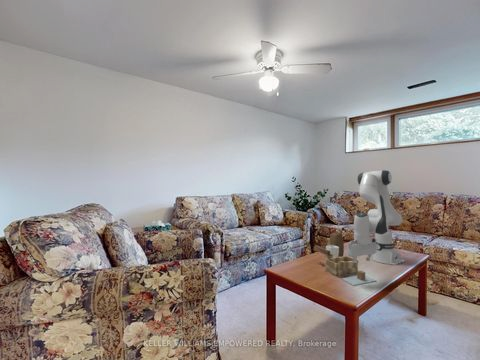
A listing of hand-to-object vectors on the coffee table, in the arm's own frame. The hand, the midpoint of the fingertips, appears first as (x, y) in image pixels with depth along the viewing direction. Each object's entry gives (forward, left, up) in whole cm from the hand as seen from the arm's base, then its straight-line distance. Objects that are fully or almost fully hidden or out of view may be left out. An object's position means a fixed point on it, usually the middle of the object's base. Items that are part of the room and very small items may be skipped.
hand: (362, 261), depth 146 cm
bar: (+8, -29, -2) cm, 30 cm away
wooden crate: (+3, -15, -11) cm, 19 cm away
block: (-13, -38, -12) cm, 42 cm away
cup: (-3, -31, -12) cm, 33 cm away
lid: (+2, 0, -12) cm, 12 cm away
